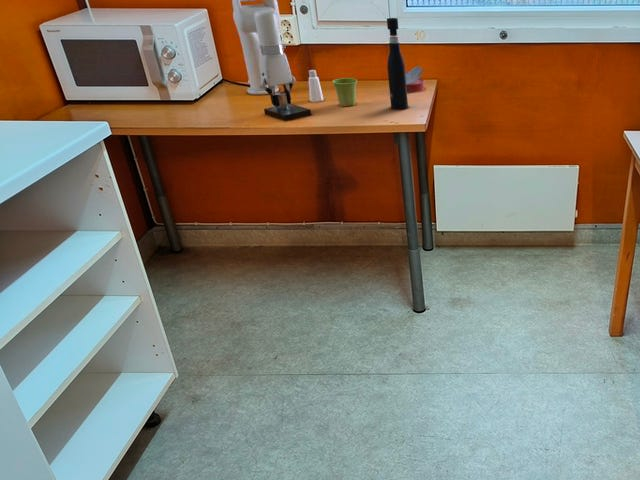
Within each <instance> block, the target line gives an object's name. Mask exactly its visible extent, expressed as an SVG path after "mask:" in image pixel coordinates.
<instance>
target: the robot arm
mask: <svg viewBox="0 0 640 480" xmlns="http://www.w3.org/2000/svg"><path fill="white" fill-rule="evenodd" d="M261 1H262V2H264V3H261V4H244V5H242V3H241V2H261ZM231 2H232V8H233V12H232V18H233V21H234V24H235V27H236V30H237V33H238V37H239V40H240V44H241V48H242V53H243V59H244V62H245V67H246V72H247V77H248V80H247V84H249V86H250V87H248V88H247V89H246V91H247V94H249V95H257V96H259V95H269V96H270V102H271V105H272V107H275V106H276V107H278V106H279V104H278V99H277V95H275V93H277V92H280V91H279V90H280V88H279V86H282V88H283V91H282V92H284V91H285V92H286V95H287V100H288V104H292V97H291V92H292V89H293V87H294V84H296V82H297V79H296V78H295V77H294V76H293V75H292V71H291V68H290V64H289V60H288V58H287V54H286V53H285V52H284V51H285V49H286V45H285V44H283V43H282V37H281V33H280V28H281V15H280V9H279V4H278V0H231Z"/></svg>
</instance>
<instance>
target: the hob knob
mask: <svg viewBox="0 0 640 480" xmlns="http://www.w3.org/2000/svg"><path fill="white" fill-rule="evenodd" d="M283 91H284V90H283ZM283 91H277V92H275V95H277V99H278V104H279V106H278V107H276V108H277V109H286V108H288V107H289V106H288V100H287V95H286V92H285V91H284V92H283Z"/></svg>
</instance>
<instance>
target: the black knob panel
mask: <svg viewBox="0 0 640 480" xmlns="http://www.w3.org/2000/svg"><path fill="white" fill-rule="evenodd" d="M288 106H289V107H288V108H286V109H277V108H276V106H270V107H265V108H263V112H264V115H265V116H268V117H272V118H275V119H278V120H281V121H284V122H288V121H292V120H296V119H300V118H304V117H305V118H306V117H309V116H312V110H311V109H310V108H307V107H303V106H300V105H297V104H293V103H291V104H288Z"/></svg>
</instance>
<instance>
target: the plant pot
mask: <svg viewBox="0 0 640 480" xmlns="http://www.w3.org/2000/svg"><path fill="white" fill-rule="evenodd" d="M331 82H332V84H333V87H334V88H335V91H336V97H337V100H338V103H339V106H341V107H350V106H355V105H356V103H357V102H356V100H357V98H356V96H357V94H356V93H357V82H358V79H357V78H352V77H340V78H336V79H333V80H332V81H331Z"/></svg>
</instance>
